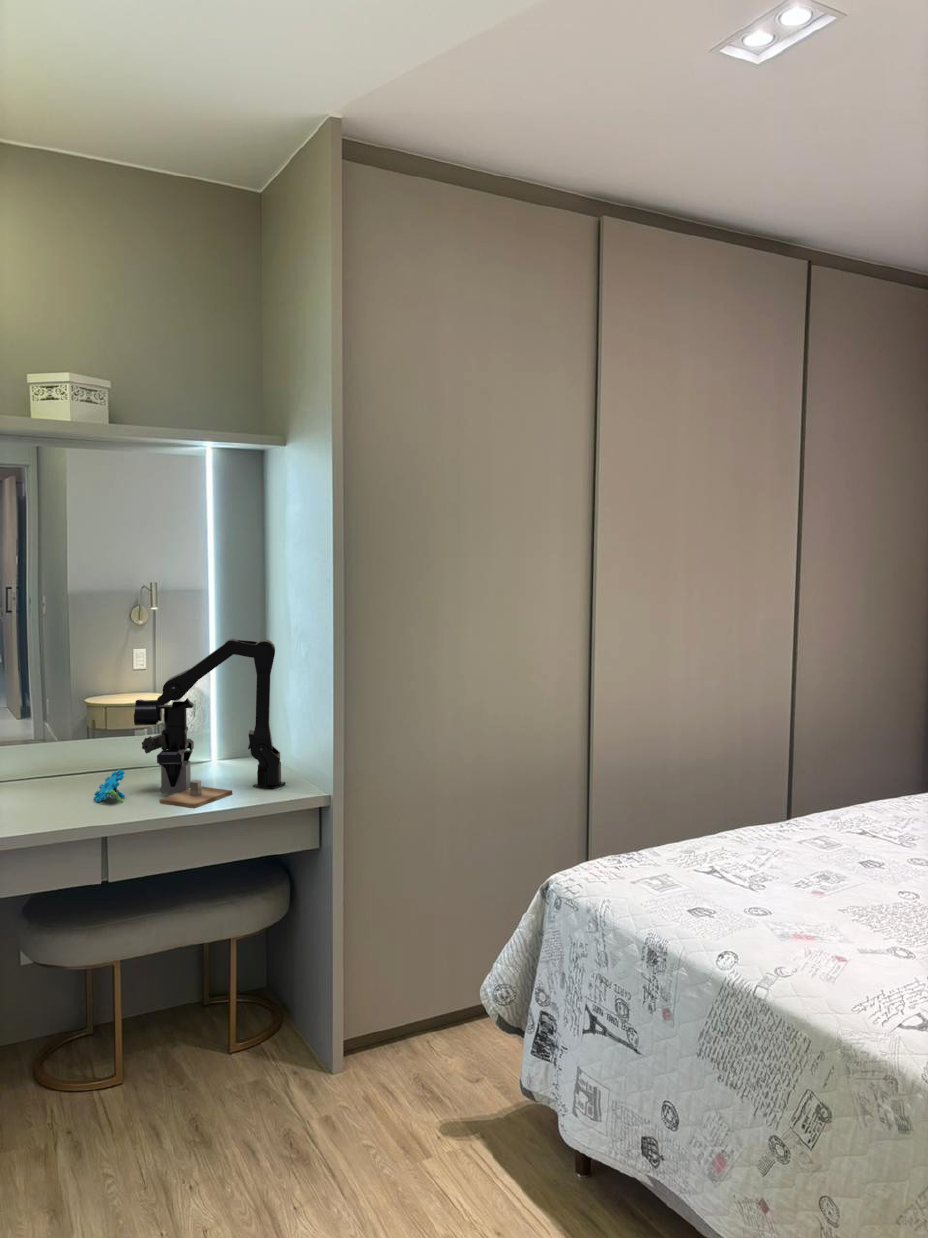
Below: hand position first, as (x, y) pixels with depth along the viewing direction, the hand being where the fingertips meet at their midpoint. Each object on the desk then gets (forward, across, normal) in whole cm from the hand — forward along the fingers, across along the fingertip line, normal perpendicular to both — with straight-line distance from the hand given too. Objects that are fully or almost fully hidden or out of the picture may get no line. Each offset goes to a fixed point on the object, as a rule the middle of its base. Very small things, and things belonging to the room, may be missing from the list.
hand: (176, 782), depth 256 cm
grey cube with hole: (+2, 0, 0) cm, 2 cm away
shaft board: (+2, +10, +7) cm, 12 cm away
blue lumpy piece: (+2, +10, -15) cm, 18 cm away
